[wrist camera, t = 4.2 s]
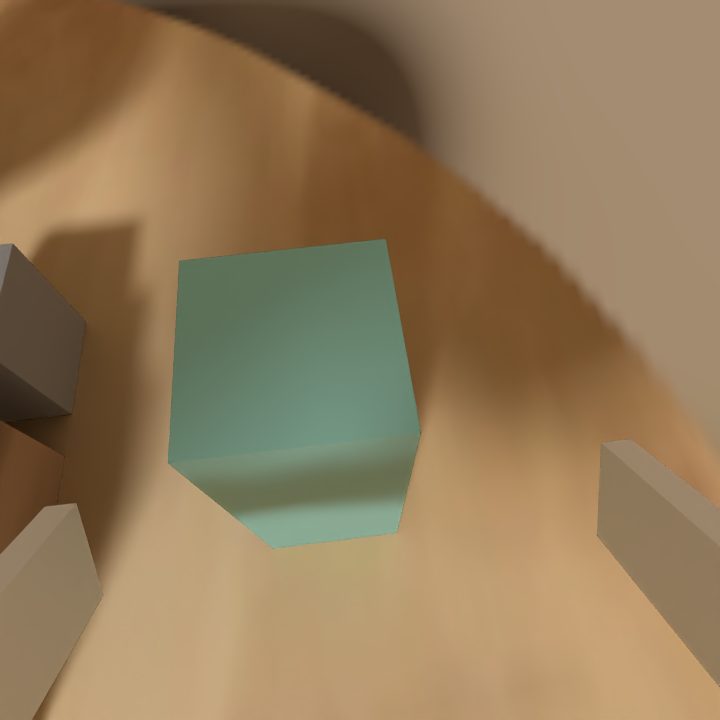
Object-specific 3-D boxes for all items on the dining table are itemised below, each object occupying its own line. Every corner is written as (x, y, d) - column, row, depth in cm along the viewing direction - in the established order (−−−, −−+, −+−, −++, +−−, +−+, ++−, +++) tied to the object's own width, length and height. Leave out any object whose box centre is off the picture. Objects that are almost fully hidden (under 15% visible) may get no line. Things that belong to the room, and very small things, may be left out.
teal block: (273, 548, 21) (167, 463, 10) (268, 431, 23) (179, 260, 12) (396, 533, 21) (420, 432, 10) (380, 417, 23) (385, 238, 13)
